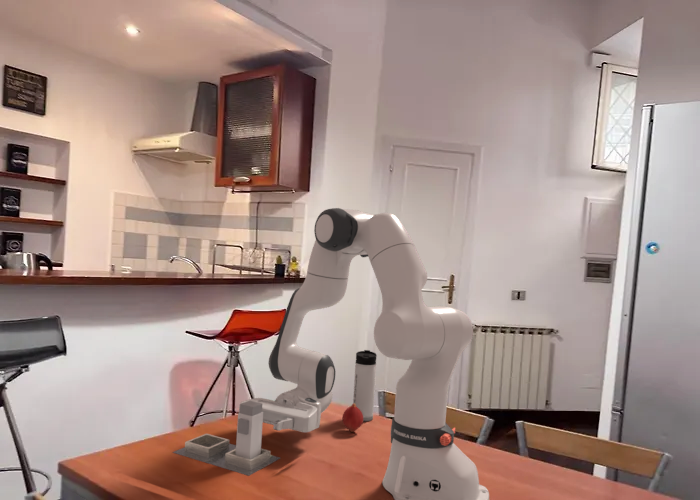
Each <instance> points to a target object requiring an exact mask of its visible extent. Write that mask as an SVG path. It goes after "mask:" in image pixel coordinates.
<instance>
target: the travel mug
mask: <svg viewBox="0 0 700 500" xmlns="http://www.w3.org/2000/svg"><path fill="white" fill-rule="evenodd" d="M377 357H378V356H377V353H376V352H373V351H371V350H369V349H364V350H360V351H357V352H356V353H355V368H354V383H353V399H352V404H353V403H355V404H356V407H358V408H359V409H360V410H361V412H362V414H363V422H371V421H372V420H373V418H374V408H375V407H374V405H375V404H374V403H375V389H376V388H375V387H376V373H377V372H376V371H377Z"/></svg>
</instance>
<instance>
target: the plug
mask: <svg viewBox="0 0 700 500" xmlns="http://www.w3.org/2000/svg"><path fill="white" fill-rule="evenodd" d="M239 406H240V412H239V411H238V413H237V425H236V427H237V428H236V442H235V443H236V444H235V445H236V455H237V456H240V457H244V458H247V459H250V460H251V459H253V458H255V457H257V456H259V455H261V449H262V440H263V439H262V438H263V412H262V403H258V402H253V401H248V402H245V403H242V404H240V403H239Z"/></svg>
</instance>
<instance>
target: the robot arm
mask: <svg viewBox="0 0 700 500" xmlns="http://www.w3.org/2000/svg"><path fill="white" fill-rule="evenodd" d="M313 232H314V238H315V241H314V243H313V247H312V249H311V251H310V252H311V253H310V256H309V259H308V265H307V270H306V271H307V272H306V276H305V279H304V281H303V283H302V285H301V286H300V287H299V288H297V289H295V290H294V291H293V292H292V294H291V296H290V299H289V301H288V304H287V307H286V310H285V313H284V316H283V319H282V323H281V326H280V330H279V332H278V335H277V338H276V342H275V344H274V346H273V348H272V350H271V352H270V356H269V358H268V368H269V371H270V373H271V376H273V378H275V379H276V380H280V381H284V382H290V383H293V384H295V385H297V386H296V387H295V388H292V389H290V390H288V391H284V392H282V393H280V394H279V395H277V396H276V398H275V399H274V400H272V399H267V398H263V397H255V398H250V399H245V400H243V401H241V402H240V403H239V407H238V408H239V409H238V413H239V412H240V404H242V403H245V402H248V401H253V402H258V403H262V412H263V423H264V424H268V425H272V426H273V429H272V430H276V431H278V432H279V431H282V430H292V431H295V432H297V431H298V432H300V433H310V432H313V431H314V430H316V429H318V428H320V424H321V418H322V416H321V415H322V413H324V412H325V410H326V409H328V407H329V406H330V405H331V403H332V402H333V387H334V385H335V380H336V367H335V363H334V361H333V359H332V357H330V355H328V354H325V353H321V352H318V351H316V350H310V349H307V348H304V347H300V346H299V345H298V343H297V339H298V337H299V333H300V330H301V326H302V324H303V320H304V318H305V316H306V315H307V314H308V313H310V312H311V311H315V310H321V309H325V308H326V309H327V308H331V307H333V306H335V305H337V304H338V303H340V301H342V300H343V298H344V297H345V294H346V291H347V287H348V281H349V274H350V267H351V262H352V260H353V259H354V258H355V257H357V256H360V257H361V258H367V257H368V260H369V262H370V265H371V267H372V270H373V272H374V275H375V279H376V281H377V284H378V287H379V289H380V294H381V299H382V306H381V307H382V308H381V313H380V315H379V316H378V318H377V320H376V321H375V324H374V327H373V340H374V343H375V345H376V348H377V350H378V351H379V352H380V353H381V354H382V355H383V356H385V357H387V358H391V359H397V360H402V361H410V360H411V362H410V364H409V366H408V368H407V369H406V371H405V373H403V375H401V377H399V379H398V381H397V383H396V387H395V399H394V401H395V402H394V416H393V417H392V419H391V427H390V444H391V447H390V454H389V458H388V463H387V468H386V469H385V474H384V475H383V476H384V477H383V479H382V486H383V488H384V489H385V490H386V491H387V492H388V493H390V494H391V495H392V497H393V499H394V500H490V492H489V490H488V489H487V487H486V486H485V485H482V484H480V479H479V471H478V468H477V466H476V464H475V462H473V460H471V459H470V457H468V456H467V455H466V454H465V453H464V452H463V451H462V450H461V449H460V448H459V447H458V446H457V445H456V444H455V443H454V438H455V434H456V427H453V428H451V427H450V426H449V424H447V422H446V417H447V408H448V407H447V406H448V404H447V403H448V396H449V394H448V393H449V388H450V383H451V381H452V376H453V374H454V372H455V368H456V367H457V363H458V361H459V359H460V357H461V355H462V353H463V352H464V351H465V349H466V348H467V347H469V345H470V344H471V342H472V340H473V335H474V327H473V323H472V321H471V319H470V317H469V315H467V313H466V312H464V311H463V310H460V309H458V308H455V307H450V306H447V305H445V306H443V305H440V306H439V305H437V306H427V305H426V303H425V301H424V299H423V292H422V291H423V290H422V289H423V288H424V287H425V285H426V284H427V281H428V272H427V271H426V268H425V266H424V263H423V261H422V258H421V256H420V254H419V253H418V251H417V248H416V245H415V243H414V241H413V239H412V237H411V236H410V233H409V232H408V230H407V229H406V227H405V225H404V224H403V223H402V221H401V220H400V219H399V218H398V216H396V215H395V214H393V213H390V212H380V213H376V214H373V213H369V212H365V211H362V210H358V209H349V208H347V209H345V208H339V207H335V208H334V207H333V208H327V209H325V210H323V211H322V212H320V213H319V215H318V217H317V218H316V220H315V223H314V231H313Z"/></svg>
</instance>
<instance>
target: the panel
mask: <svg viewBox="0 0 700 500" xmlns="http://www.w3.org/2000/svg"><path fill="white" fill-rule="evenodd" d="M271 452H272V451H271V450H269V449H264V448H261V455H259V456H257V457H255V458H253V459H251V460H250V459H247V458H244V457H240V456H237V455H236V444H232V443H230V439H229V438H224V437H220V436H217V435H213V434H210V433H203V434H202V435H199V436H196V437H194V438H192V439H188V440H187V441H185V442H184V447H182V448H180V449H177V450H174V451H172V453H173V454H176V455H180V456H182V457H187V458H189V459H192V460H196V461H199V462H202V463H206V464H209V465H212V466H216V467H218V468H222V469H226V470H228V471H232V472H235V473H239V474H241V475H245V476H248V477H249V476H251V475H253V474H255V473H257V472H258V471H260V470H262V469H265V468H267V466H270V465H271V464H273V463H276V462H277V461H279V460H280V459H281V457H279V456H277V455H273V454H271Z"/></svg>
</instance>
